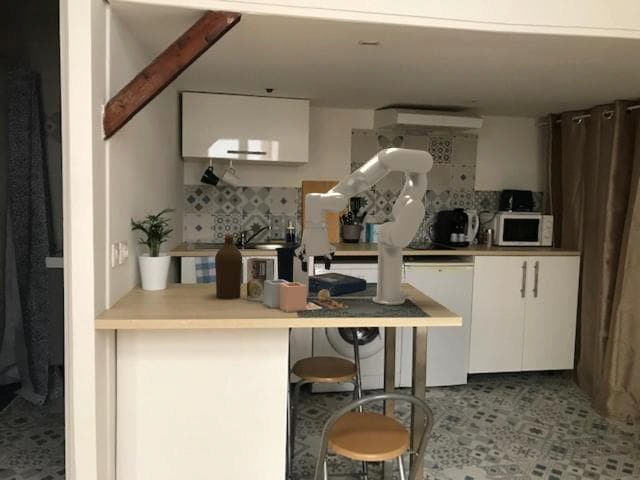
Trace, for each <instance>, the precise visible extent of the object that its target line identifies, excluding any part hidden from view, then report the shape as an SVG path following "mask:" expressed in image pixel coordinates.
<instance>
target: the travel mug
mask: <svg viewBox="0 0 640 480" xmlns="http://www.w3.org/2000/svg"><path fill="white" fill-rule="evenodd" d="M295 250H296V249H294V250H293V264H292V265H293V267H292V269H293V274H292V283H296V282H298V283H301V284H304V285H306V286H307V299H308V298H309V279H310V277H309V276H310V256H309V257H308V259H307V260H306V262H307V269H308V271H307V272H303V271H302V268H301V261H300V259H299V258H298V257H297V255H296V253H295ZM300 254H301V255H303V254H302V251H300Z"/></svg>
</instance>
